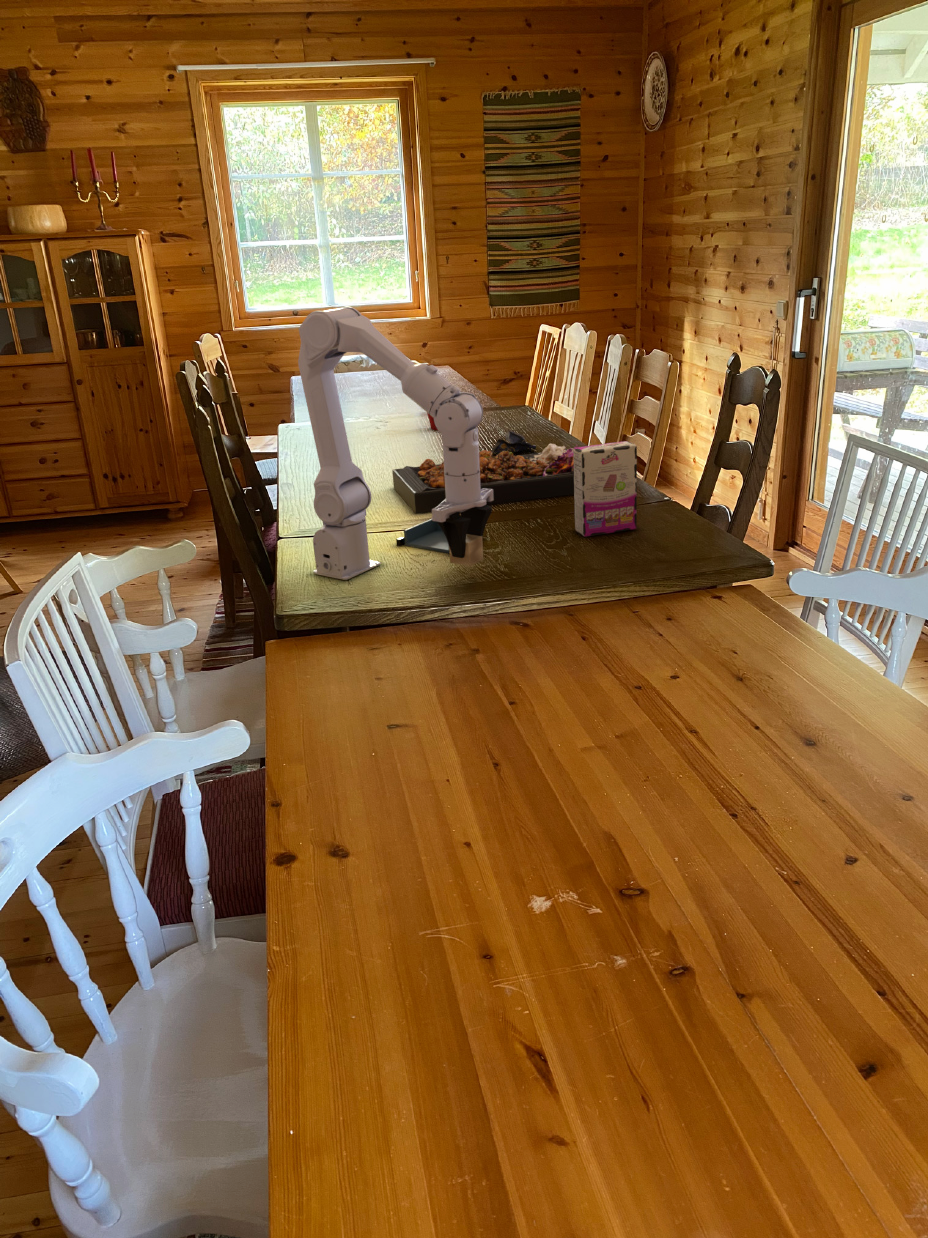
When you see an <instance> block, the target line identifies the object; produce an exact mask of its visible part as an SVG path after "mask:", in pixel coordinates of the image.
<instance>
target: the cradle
mask: <svg viewBox="0 0 928 1238" xmlns="http://www.w3.org/2000/svg"><path fill="white" fill-rule="evenodd" d="M395 540H396V541H395V542H396V547H403V546H405V539H404V536H400V537H398V538H396V539H395Z"/></svg>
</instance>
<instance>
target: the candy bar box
mask: <svg viewBox="0 0 928 1238" xmlns="http://www.w3.org/2000/svg"><path fill="white" fill-rule="evenodd" d="M573 457H574V494H573V495H574V496H573V498H574V530H575V532H576V533H578V534H580V536H583V537H584V538H585V537H586V538H587V537H593V536H600V535H601V536H602V535H606V534H614V533H620V532H626V531H633V530H637V527H638V526H637V523H638V521H637V520H638V519H637V517H638V515H637V511H638V510H637V508H638V506H637V502H638V501H637V500H638V497H637V495H638V494H637V493H638V491H637V490H638V487H637V486H638V484H637V483H638V445H637V444H635V443H632V442H630V441H628V440H626V441H625V440H624V441H616V442H608V443H602V444H593V445H585V446H577V447H576V448H575V447H573Z"/></svg>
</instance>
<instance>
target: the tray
mask: <svg viewBox="0 0 928 1238" xmlns="http://www.w3.org/2000/svg"><path fill="white" fill-rule="evenodd" d="M403 537H404V539H405V545H404V546H406V547H411V548H417V549H422V550H427V551H433V552H439V553H445V554H450V551H449V544H448V541H447V538H446V536H445V534H444V532H443V530H442V529H441V527H440V526H439V524H438V523H437V521H432V518H430V519H427V520H425V521H422V522H420V523H418V524H415V525H412V526H410V527H408V528H406V529H404V530H403Z"/></svg>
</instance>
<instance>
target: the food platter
mask: <svg viewBox="0 0 928 1238" xmlns="http://www.w3.org/2000/svg"><path fill="white" fill-rule="evenodd" d="M577 447H578V444H576V445H575V447H573V448H577ZM573 448H568V449H567V448H566V446H565V445H563V446H558V445H556V443H549V444H548V445H547V446H546V447H545V448H543V450H542V452H537V453H527V454H519V455H514V452H508V451H502V452H501V453H497V455H495V456H493V455H492V452H491V450H486V449H483V450H481V451H479V463H480V487H481V489H483V488H486V489H493V499H494V500H493V501H491V502H488V501H487V502H486V505H487V506H492V505H498V504H499V505H500V504H507V503H514V502H524V501H531V500H539V499H547V498H554V497H555V498H557V497H564V496H565V497H566V496H571V495H572V496H573V495H574V457H573ZM391 472H392V486H393V489H394V491H396V493H397V494H398V496H400V497H401V498H402V500H403V501H404V502H405V503H406V504H407V506H409V508H410V509H411V511H413V513H414V514H416V515H418V514H425V513H427V514H428V513H432V509H434V508H436V507H437V506H438V505H439V504H440V503H441V502H443V501H444V500H445V499H446V493H445V477H444V461H442V462H441V463H438V464H436V463H435V462H434V460H433V459H431V458H426V459H425V460H424V461H423V462H422V463H421V464H420V465H418V466H411V465H410V466H409V465H405V466H404V467H402V468H393V469H392V470H391Z"/></svg>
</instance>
